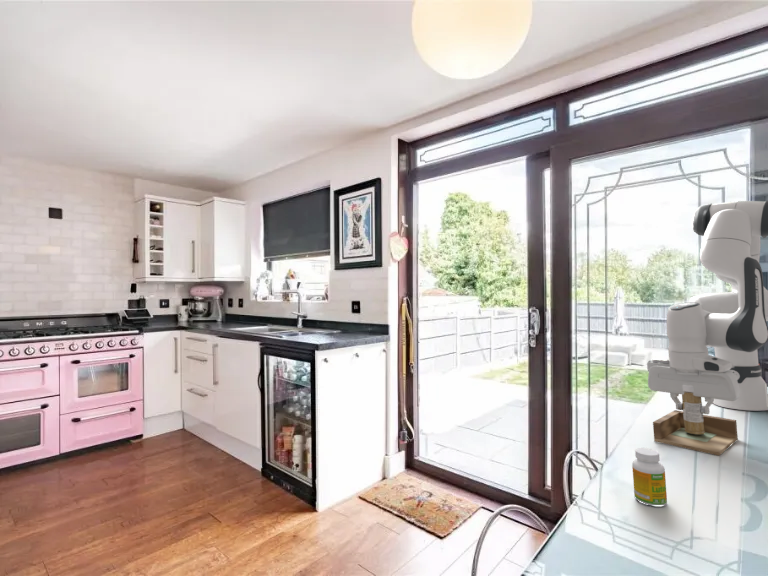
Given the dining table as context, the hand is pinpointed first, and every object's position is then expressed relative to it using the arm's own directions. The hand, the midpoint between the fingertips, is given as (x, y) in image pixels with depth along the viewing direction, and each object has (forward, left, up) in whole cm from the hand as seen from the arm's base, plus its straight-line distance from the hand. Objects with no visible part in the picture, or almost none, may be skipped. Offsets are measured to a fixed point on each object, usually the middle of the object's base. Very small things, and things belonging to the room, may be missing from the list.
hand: (692, 411), depth 110 cm
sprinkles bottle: (0, 0, -6) cm, 6 cm away
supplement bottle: (+45, +6, -8) cm, 46 cm away
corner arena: (+2, +1, -7) cm, 8 cm away
